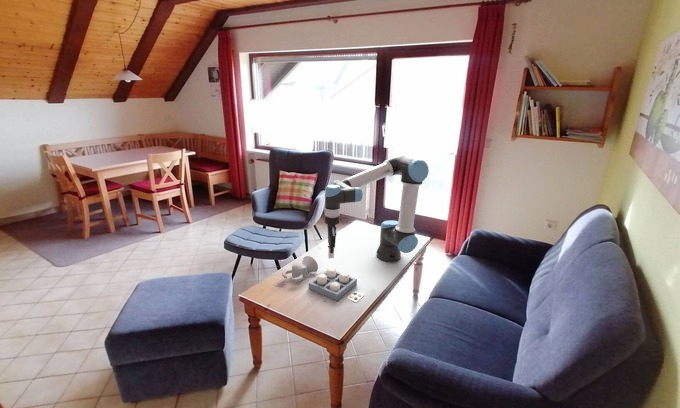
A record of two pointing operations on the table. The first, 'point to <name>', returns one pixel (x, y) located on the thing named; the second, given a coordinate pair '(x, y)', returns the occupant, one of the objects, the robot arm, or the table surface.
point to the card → (355, 296)
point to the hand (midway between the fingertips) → (331, 257)
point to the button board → (329, 293)
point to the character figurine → (302, 269)
